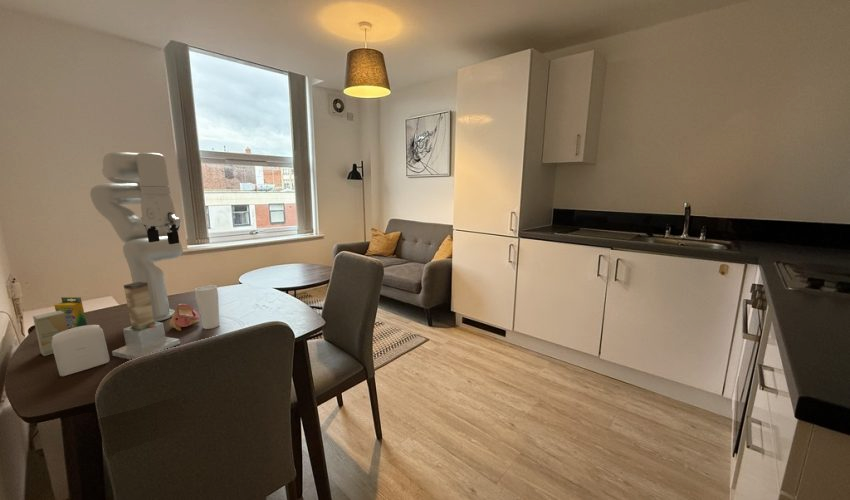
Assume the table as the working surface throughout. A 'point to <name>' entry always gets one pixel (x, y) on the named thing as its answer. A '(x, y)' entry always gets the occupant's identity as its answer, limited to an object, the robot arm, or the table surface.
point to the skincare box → (49, 329)
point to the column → (139, 305)
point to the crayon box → (72, 312)
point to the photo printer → (79, 349)
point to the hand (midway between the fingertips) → (164, 242)
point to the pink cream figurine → (184, 316)
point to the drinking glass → (208, 305)
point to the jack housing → (144, 341)
